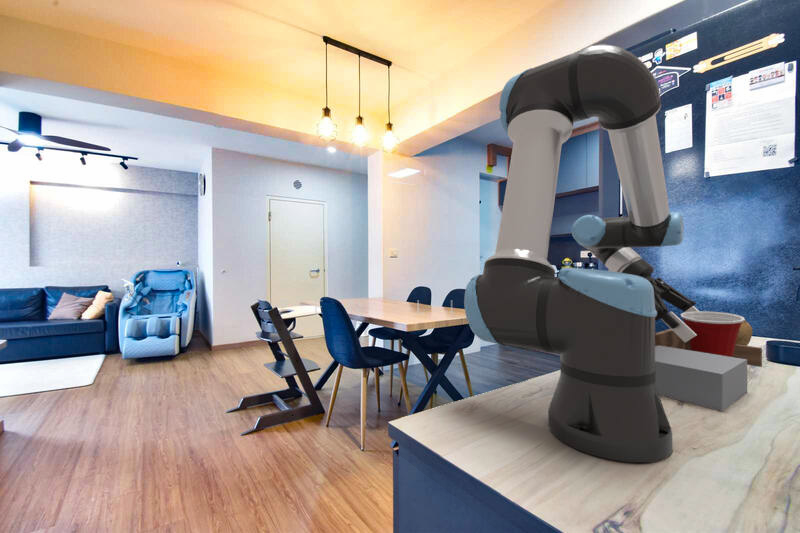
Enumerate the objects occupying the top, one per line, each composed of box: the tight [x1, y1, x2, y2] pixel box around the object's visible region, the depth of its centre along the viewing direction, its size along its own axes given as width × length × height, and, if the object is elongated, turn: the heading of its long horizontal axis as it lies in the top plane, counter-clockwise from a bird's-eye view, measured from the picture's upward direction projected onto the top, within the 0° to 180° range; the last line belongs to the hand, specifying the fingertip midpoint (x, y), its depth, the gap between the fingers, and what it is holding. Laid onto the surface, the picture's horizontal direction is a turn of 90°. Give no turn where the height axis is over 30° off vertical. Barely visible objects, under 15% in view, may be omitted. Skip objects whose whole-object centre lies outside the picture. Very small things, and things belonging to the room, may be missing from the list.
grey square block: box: [655, 345, 748, 412], centre depth 68 cm, size 14×14×6 cm
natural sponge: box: [736, 319, 753, 346], centre depth 92 cm, size 9×9×10 cm
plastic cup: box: [680, 310, 746, 357], centre depth 80 cm, size 11×11×12 cm
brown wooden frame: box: [655, 328, 763, 367], centre depth 81 cm, size 22×15×7 cm
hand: (702, 334), depth 82 cm, fingers open, 13 cm apart
